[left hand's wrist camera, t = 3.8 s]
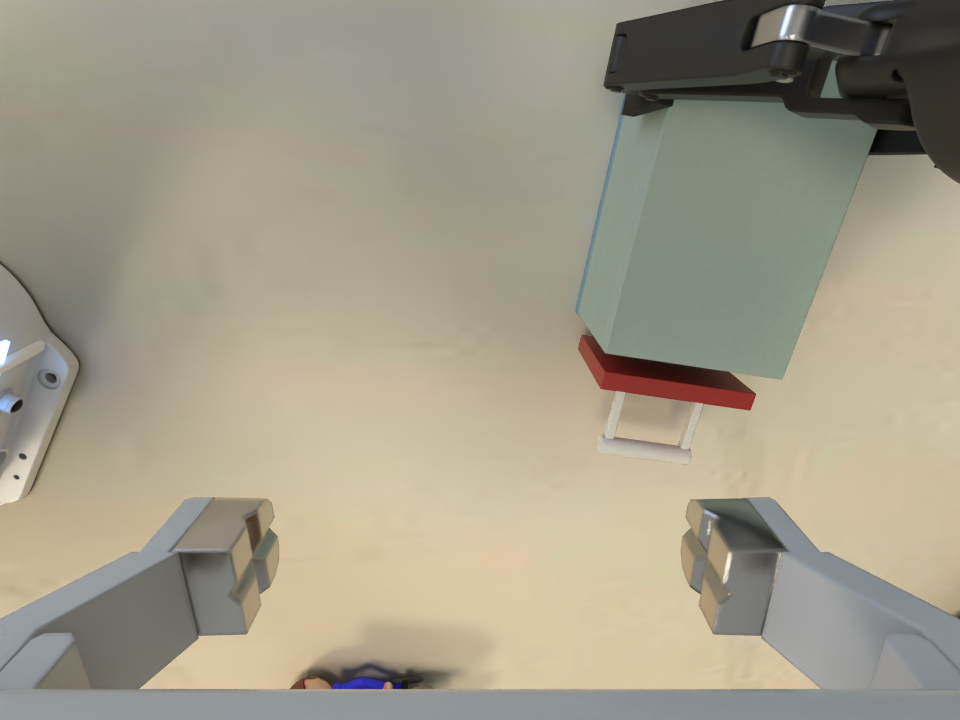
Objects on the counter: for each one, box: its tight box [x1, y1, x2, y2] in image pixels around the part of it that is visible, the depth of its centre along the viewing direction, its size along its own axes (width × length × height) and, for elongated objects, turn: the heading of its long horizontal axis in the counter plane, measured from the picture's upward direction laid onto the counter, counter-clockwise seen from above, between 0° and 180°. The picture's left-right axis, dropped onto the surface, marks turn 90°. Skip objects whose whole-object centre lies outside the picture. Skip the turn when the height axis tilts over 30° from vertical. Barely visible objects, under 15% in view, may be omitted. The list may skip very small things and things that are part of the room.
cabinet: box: [576, 60, 878, 380], centre depth 34 cm, size 18×11×10 cm, turn 171°
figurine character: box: [290, 676, 434, 689], centre depth 51 cm, size 7×8×15 cm
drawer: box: [578, 335, 756, 465], centre depth 37 cm, size 22×10×8 cm, turn 171°
